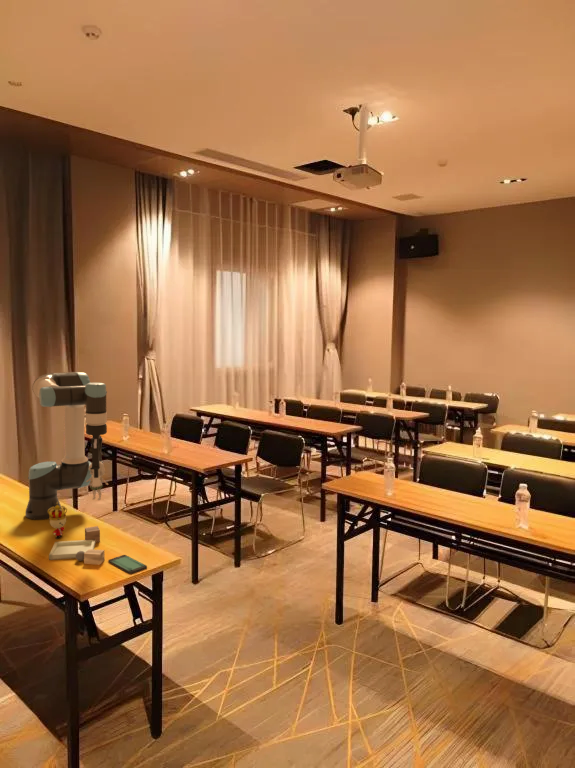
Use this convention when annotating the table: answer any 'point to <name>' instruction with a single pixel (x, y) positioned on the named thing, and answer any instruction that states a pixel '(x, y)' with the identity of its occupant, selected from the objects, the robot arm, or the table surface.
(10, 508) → the table surface
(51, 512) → the toy
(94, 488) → the figurine
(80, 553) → the grey ball
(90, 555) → the maple block
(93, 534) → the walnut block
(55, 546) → the tray
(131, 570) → the smartphone
